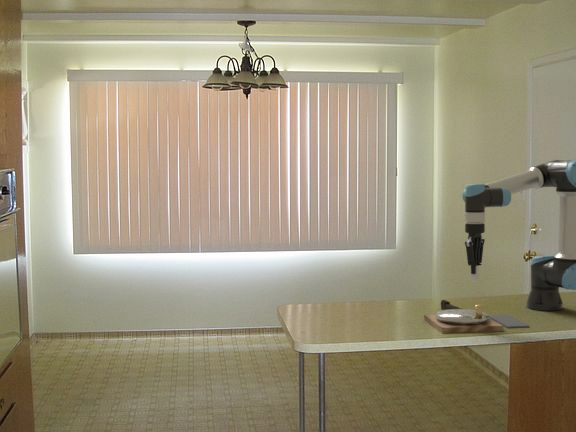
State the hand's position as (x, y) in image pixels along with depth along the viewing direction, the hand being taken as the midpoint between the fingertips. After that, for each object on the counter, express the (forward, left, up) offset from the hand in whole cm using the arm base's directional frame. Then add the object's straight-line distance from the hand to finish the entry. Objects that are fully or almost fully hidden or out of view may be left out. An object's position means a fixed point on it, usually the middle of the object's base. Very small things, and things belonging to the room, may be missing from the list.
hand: (474, 281), depth 302 cm
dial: (+6, +2, -14) cm, 16 cm away
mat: (-14, -1, -17) cm, 22 cm away
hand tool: (+3, -21, -17) cm, 27 cm away
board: (+6, +2, -17) cm, 18 cm away
